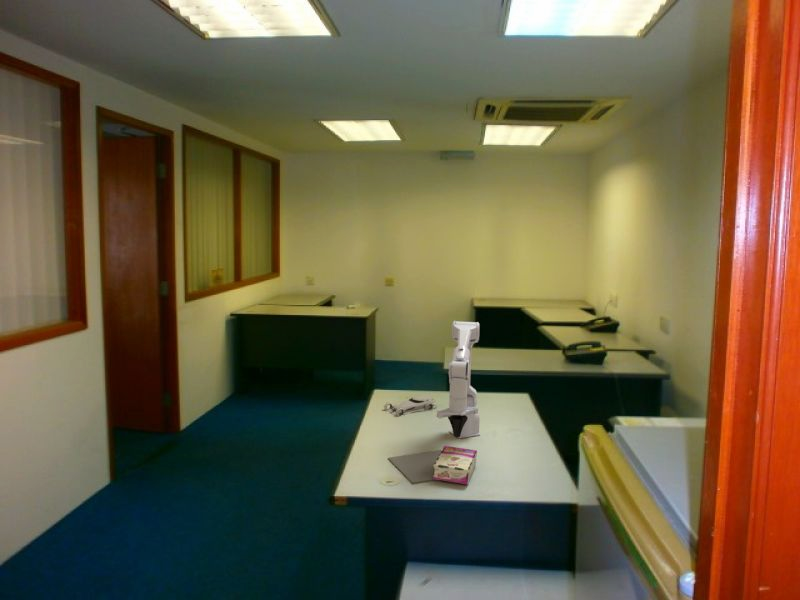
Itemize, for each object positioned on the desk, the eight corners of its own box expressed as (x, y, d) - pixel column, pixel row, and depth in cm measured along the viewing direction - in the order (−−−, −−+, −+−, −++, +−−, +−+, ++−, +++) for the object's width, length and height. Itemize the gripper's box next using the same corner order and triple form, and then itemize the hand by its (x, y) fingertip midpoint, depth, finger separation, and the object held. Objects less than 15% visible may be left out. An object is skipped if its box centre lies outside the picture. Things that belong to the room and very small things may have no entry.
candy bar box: (443, 459, 191) (431, 479, 175) (444, 445, 190) (432, 464, 174) (476, 464, 187) (467, 485, 172) (477, 450, 187) (468, 469, 171)
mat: (440, 451, 199) (440, 449, 199) (469, 474, 181) (469, 472, 181) (388, 459, 191) (388, 457, 191) (412, 484, 173) (412, 482, 173)
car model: (381, 410, 242) (382, 399, 241) (426, 401, 256) (427, 391, 255) (396, 418, 233) (396, 406, 232) (442, 408, 247) (442, 397, 246)
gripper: (444, 402, 181) (443, 443, 182) (483, 398, 186) (481, 437, 188) (434, 396, 187) (433, 435, 189) (472, 392, 193) (471, 430, 195)
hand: (456, 436), depth 189 cm, fingers closed
